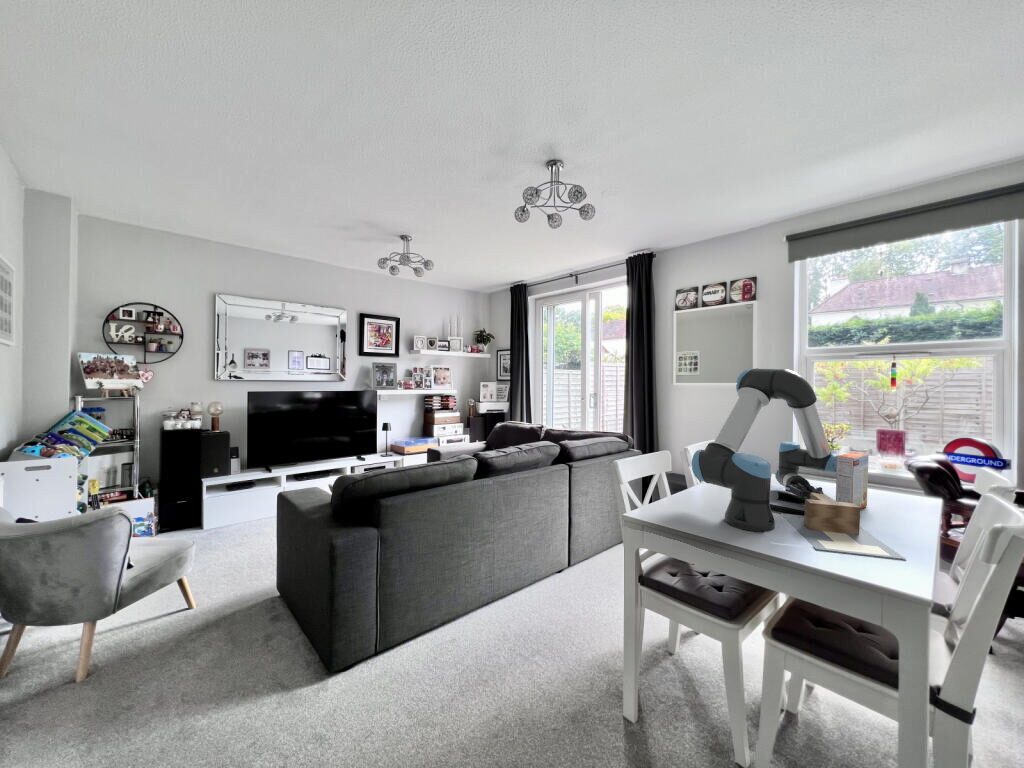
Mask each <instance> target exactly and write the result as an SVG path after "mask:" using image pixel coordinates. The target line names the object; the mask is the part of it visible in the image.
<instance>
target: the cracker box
mask: <svg viewBox="0 0 1024 768" xmlns="http://www.w3.org/2000/svg"><path fill="white" fill-rule="evenodd" d="M838 455H839V456H837V472H836V476H835V477H836V481H835V501H837V502H846V503H854V504H856V505H857V506H859V507H861V509H864V508H866V507H868V488H869V487H868V483H869V482H868V481H869V454H868V453H861V452H856V451H855V452H854V451H851V452H848V453H844V454H843V453H842V454H838ZM861 509H860V510H861Z"/></svg>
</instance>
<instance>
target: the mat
mask: <svg viewBox="0 0 1024 768" xmlns="http://www.w3.org/2000/svg"><path fill="white" fill-rule="evenodd" d="M780 515H781V516H782V517H783V518H784V519H786V521H787V522H788V523H789V524H790V525H791V526H792V527H793V528H794V529H796V530H797V532H798V533H799V534H800V535H801V536H802V537H803V538H804V539H806V541H807V542H808V543H809V544H810V545H811V546H812V548H813V549H814V550H815V551H820V552H829V553H836V552H838V554H845V553H849V554H848V555H854V554H858V555H857V556H863V555H866V556H865V557H872V556H875V557H874V558H880V557H886V558H885V559H889V558H895V559H894V560H898V559H906V558H905V556H903V555H901V554H900V553H898V552H897V551H896V550H894V549H893V548H891V547H890V546H889V545H887V544H885V543H884V542H882V541H881V540H880V539H879V538H877V537H876V536H874V535H873V534H872V533H870V532H868V531H867V530H865V529H864V528H863V527H861V526H860V529H859V535H855V534H845V533H835V532H826V531H816V530H809V529H808V528H807V527H806V526H805V525H804V515H800V514H791V513H780Z"/></svg>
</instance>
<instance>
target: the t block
mask: <svg viewBox="0 0 1024 768" xmlns="http://www.w3.org/2000/svg"><path fill="white" fill-rule="evenodd" d="M803 516H804V525H805V526H806V527H807V528H808V529H809V530H816V531H826V532H835V533H845V534H855V535H859V529H860V527H861V507H859V506H857V505H856V504H854V503H846V502H837V501H836V499H834V498H832V497H831V496H830V495H828V494H826V493H824V494H818V493H811V496H810V499H807V498H804V515H803Z"/></svg>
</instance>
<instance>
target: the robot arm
mask: <svg viewBox="0 0 1024 768" xmlns="http://www.w3.org/2000/svg"><path fill="white" fill-rule="evenodd" d="M735 388H736V392H737V397H738V399H737V400H736V402H735V404H734V406H733V407H732V410H731V411H730V413H729V415H728V417H727V418H726V420H725V422H724V424H723V425H722V428H721V429H720V430H719V433H718V435H717V436H716V438H715V440H714V441H712V442H708V443H707V445H706V447H705V449H698V450H696V451H695V452H694V454H693V456H692V458H691V469H692V470H691V471H692V473H693V475H694V477H695V478H696V479H697V481H701V482H704V483H706V484H711V485H714V486H718V487H723V488H726V489H730V490H731V491H730V492H731V493H730V494H731V495H730V501H729V503H728V506H727V508H726V510H725V513H724V522H725V523H727V524H728V525H730V526H731V527H735V528H737V529H741V530H744V531H751V532H757V533H758V532H759V533H760V532H761V533H762V532H763V533H764V532H771V531H774V530H775V528H776V522H775V521H776V520H775V517H774V514H773V512H772V509H771V504H770V501H771V499H770V498H771V483H772V482H771V481H772V466H771V463H770V462H769V461H768V460H767V459H765V458H763V457H761V456H759V455H754V454H750V453H744V452H739V450H740V448H741V447H742V444H743V443H744V441H745V439H746V437H747V435H748V434H749V431H750V430H751V427H752V425H753V424H754V422H755V421H756V419H757V417H758V415H759V413H760V411H761V409H762V408H764V407H767V406H768V405H769V403H770V401H771V400H773V399H775V400H783V401H785V402H786V404H787V407H788V408H790V409H792V412H793V415H794V418H795V420H796V423H797V427H798V428H799V431H800V434H801V437H802V439H803V443H804V446H805V449H804V448H801V445H800V443H797V442H794V441H793V442H792V441H782V442H780V444H779V448H778V468H777V469H776V471H775V473H774V476H775V479H776V481H777V483H779V484H780V486H781V485H782V486H783V487H784V488H785V492H787V493H790V494H793V495H795V496H797V497H799V498H800V499H810V496H811V493H818V494H825V493H824V491H823V487H822V486H821V487H820V486H819V487H815V486H813V485H811V484H810V482H809V481H808V480H807V479H806V478H805V477H803V476H802V475H800V474H799V473H800V467H801V468H805V469H811V470H816V471H821V472H824V473H825V472H826V473H833V474H835V473H836V474H837V456H839V455H840V454H836V453H832V452H831V449H830V447H829V443H828V440H827V437H826V434H825V431H824V427H823V424H822V422H821V418H820V416H819V412H818V409H817V405H816V403H817V400H818V399H817V395H816V392H815V391H814V389H813V386H811V384H810V383H809V382H808V381H807V380H806V379H805V378H804V377H803V376H802V375H800V374H799V373H798V372H796V371H793V370H791V369H787V368H779V369H778V368H759V367H758V368H748V369H745V370H743V371H741V373H740V374H739V375H738V377H737V380H736V385H735Z"/></svg>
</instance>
